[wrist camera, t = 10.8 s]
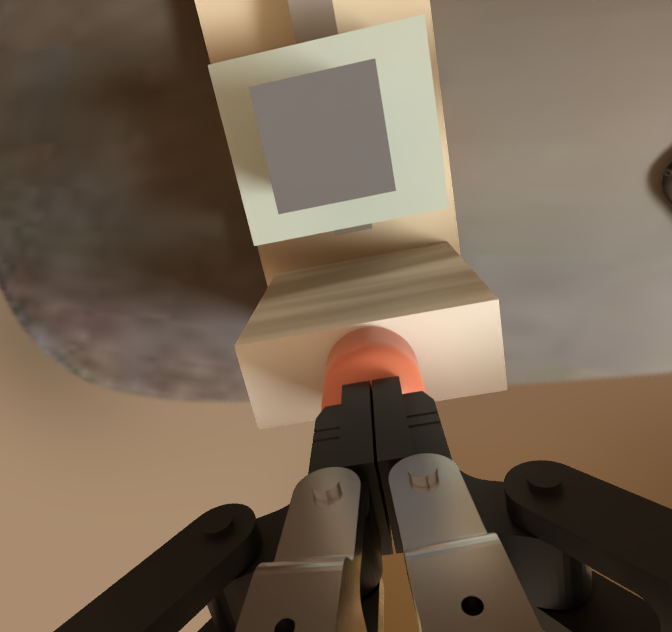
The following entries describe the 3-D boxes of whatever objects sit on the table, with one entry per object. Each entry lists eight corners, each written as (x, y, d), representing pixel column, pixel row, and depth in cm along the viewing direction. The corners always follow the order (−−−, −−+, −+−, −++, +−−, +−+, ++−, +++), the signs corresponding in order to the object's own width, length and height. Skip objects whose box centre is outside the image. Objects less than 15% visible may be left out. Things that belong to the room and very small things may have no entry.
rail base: (147, -221, 19) (-62, -580, 9) (387, -292, 18) (423, -769, 8) (284, 323, 26) (243, 431, 16) (459, 292, 25) (523, 387, 16)
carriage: (229, 75, 19) (147, 35, 11) (413, 32, 18) (455, -39, 11) (267, 231, 21) (218, 284, 13) (435, 197, 20) (483, 234, 13)
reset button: (317, 336, 15) (311, 371, 13) (410, 319, 15) (420, 352, 13) (336, 416, 16) (332, 462, 14) (423, 402, 16) (435, 447, 13)
